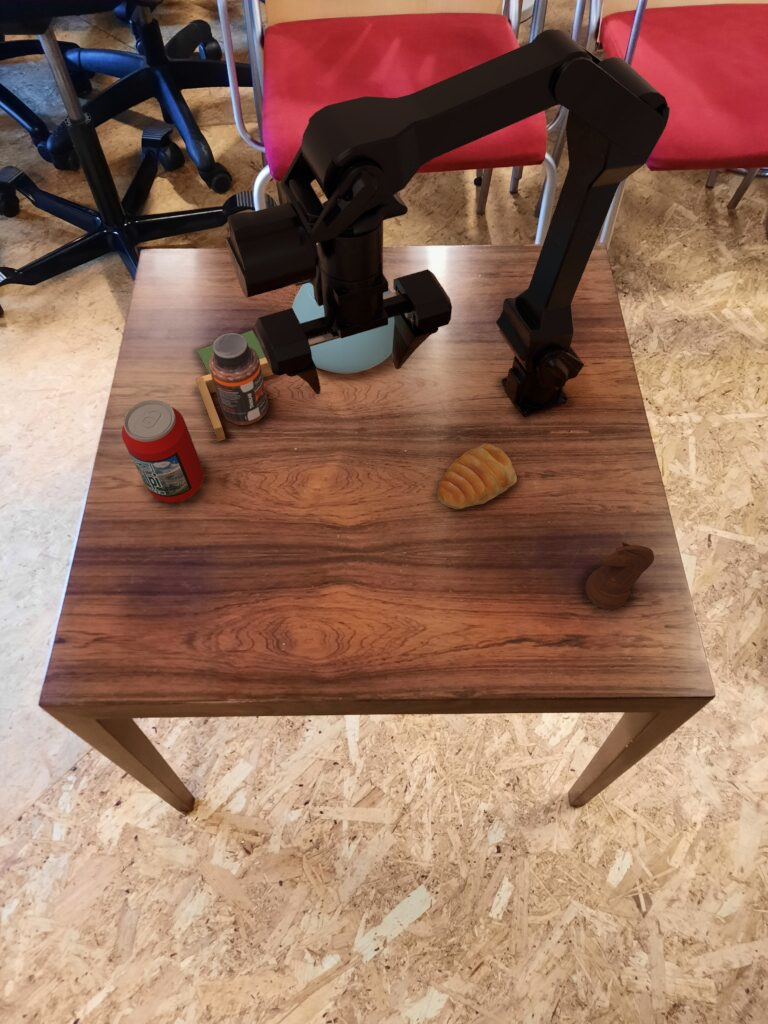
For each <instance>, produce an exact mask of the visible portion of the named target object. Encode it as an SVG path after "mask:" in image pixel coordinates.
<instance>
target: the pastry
mask: <svg viewBox="0 0 768 1024" xmlns="http://www.w3.org/2000/svg"><path fill="white" fill-rule="evenodd" d="M517 481H518V476H517V473H516V469H515V468H514V467H513V463H512V461H511V458H510V457H509V456H508V455H507V454H506V452H504V451H503V450H502V449H501V448H500V447H499V446H496V445H494V444H493V443H482V445H480V446H477V447H474V448H472V449H469V450H467V451H465V452H464V453H463V454H462V455H461V456H460V457H458V458H456V459H455V460H454V462H453V463H451V465H450V466H449V468H448V469H446V472H445V474H444V476H443V477H442V478H441V480H440V481H439V482H438V492H437V499H438V501H440V503H441V504H442V505H444V506H446V507H448V508H451V509H454V510H461V509H465V508H469V507H473V506H476V505H483V504H486V503H487V502H488V501H490V500H493V499H494V498H496V497H498V496H499V495H500V494H503V493H504V492H507V490H509V488H510V487H512V486H514V485H515V484H516V483H517Z"/></svg>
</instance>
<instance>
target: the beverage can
mask: <svg viewBox="0 0 768 1024" xmlns="http://www.w3.org/2000/svg"><path fill="white" fill-rule="evenodd" d="M121 438H122V441H123V443H124V445H125V447H126V449H127V451H128V454H129V455H130V458H131V461H133V463H134V466H135V467H136V469H137V471H138V473H139V475H140V477H141V479H142V480H143V483H144V485H145V487H146V488H147V490H148V492H149V494H150V495H151V496H152V497H154V499H157V500H158V501H160V502H165V503H179V502H182V501H184V500H187V499H190V498H191V497H192V496H193V495H195V494H196V493H197V492H198V491H199V490H200V488H201V486H202V484H203V482H204V470H203V467H202V464H201V461H200V458H199V455H198V451H197V450H196V447H195V444H194V442H193V439H192V436H191V433H190V430H189V428H188V426H187V423H186V421H185V419H184V417H183V414H182V413H181V412H179V410H177V409H176V408H175V407H172V406H171V405H170V404H169V403H167V402H166V401H164V400H161V399H146V400H143V401H140V402H138V403H136V404H134V405H133V406H131V408H129V409H128V411H127V413H125V416H124V417H123V425H122V429H121Z"/></svg>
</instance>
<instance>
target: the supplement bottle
mask: <svg viewBox="0 0 768 1024" xmlns="http://www.w3.org/2000/svg"><path fill="white" fill-rule="evenodd" d="M212 345H213V352H214V353H213V354H212V356H211V358H210V362H209V368H210V372H211V376H212V379H213V383H214V386H215V390H216V392H215V393H216V396H217V400H218V403H219V406H220V410H221V413H222V415H223V416H224V418H225V419H226V421H228V422H230V423H231V424H235V425H239V426H248V425H251V424H256V423H257V422H258V421H259V422H260V420H261V419H262V418H264V417H265V415H266V413H267V411H268V409H269V400H268V394H267V390H266V386H265V381H264V378H263V374H262V370H261V365H260V360H259V357H258V355H257V353H256V351H255V350H254V349H253V348H251V347H250V346H248V343H247V341H246V339H245V338H244V337H243V336H242V335H240V334H239V333H236V332H235V333H234V332H229V333H224V334H222V335H219V336H218V337H217V338H216V339H215V340H214V341H213V344H212Z"/></svg>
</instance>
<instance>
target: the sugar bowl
mask: <svg viewBox="0 0 768 1024" xmlns="http://www.w3.org/2000/svg"><path fill="white" fill-rule="evenodd" d="M389 293H393V292H392V290H391V288H389V287H388V291H387V292H384V293H383V295H386V294H389ZM291 308H293V310H294V312H295V314H296V316H297V318H298V320H299V322H300V323H304V322H307V321H311V320H314V319H318V318H321V317H324V305H322V306H318V304H317V302H316V300H315V298H314V289H313V285H312V284H311V283H306V284H302V285H301V287H300V288H299V290H298V291H297V293H296V295H295V297H294V299H293V302H292V305H291ZM393 334H394V317H391V318H388V325H385V326H382V327H379V328H375V329H372V330H369V331H365V332H362V333H359V334H355V335H352V336H349V337H345V338H342V339H341V338H338V339H334V340H331V341H328V342H324V343H321V344H318V345H314V346H311V347H310V349H311V352H312V359H313V361H314V364H315V366H316V369H317V368H318V369H320V370H323V371H325V372H329V373H335V374H344V375H347V374H348V375H349V374H357V373H361V372H364V371H367V370H370V369H372V368H374V367H377V366H378V365H380V364H381V363H383V362H384V361H386V360H387V359H388V358H389V357H390V356H392V348H393Z"/></svg>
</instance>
